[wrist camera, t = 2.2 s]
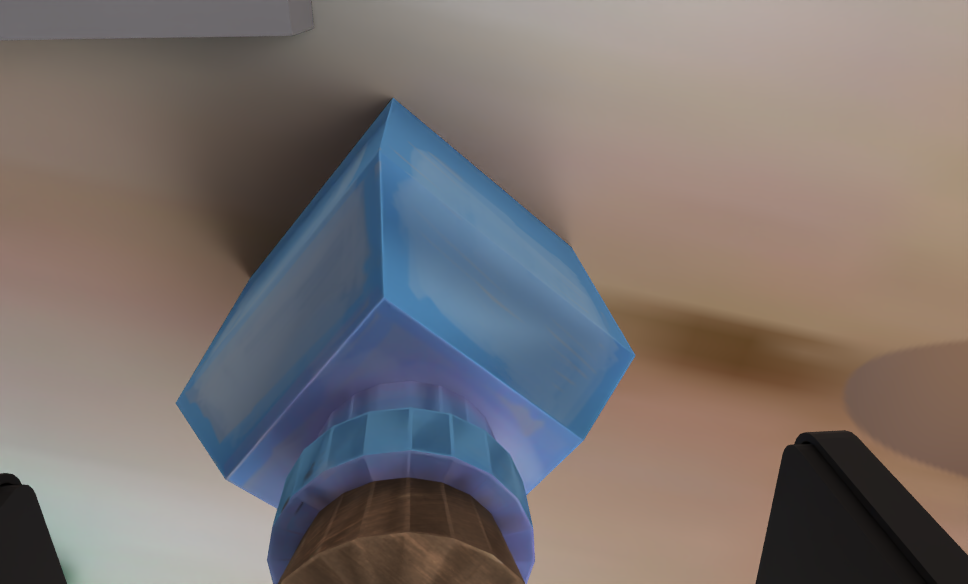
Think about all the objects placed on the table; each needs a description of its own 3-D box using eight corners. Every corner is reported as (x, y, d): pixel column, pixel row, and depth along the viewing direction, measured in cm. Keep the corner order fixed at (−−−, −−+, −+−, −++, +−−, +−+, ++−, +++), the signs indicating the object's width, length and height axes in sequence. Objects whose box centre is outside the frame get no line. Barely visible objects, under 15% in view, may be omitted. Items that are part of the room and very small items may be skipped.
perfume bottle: (571, 247, 19) (776, 594, 8) (428, 398, 21) (438, 863, 10) (392, 97, 17) (341, 288, 6) (250, 277, 19) (4, 689, 8)
